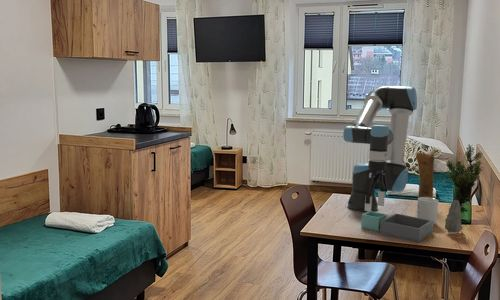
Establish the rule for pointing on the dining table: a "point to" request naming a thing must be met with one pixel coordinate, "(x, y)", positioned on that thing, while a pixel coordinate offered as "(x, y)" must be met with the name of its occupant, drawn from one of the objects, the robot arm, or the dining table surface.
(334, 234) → the dining table surface
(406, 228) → the grey crate
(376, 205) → the robot arm
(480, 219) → the dining table surface
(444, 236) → the dining table surface
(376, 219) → the block
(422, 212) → the mug
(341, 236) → the dining table surface
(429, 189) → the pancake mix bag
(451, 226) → the stone tool
